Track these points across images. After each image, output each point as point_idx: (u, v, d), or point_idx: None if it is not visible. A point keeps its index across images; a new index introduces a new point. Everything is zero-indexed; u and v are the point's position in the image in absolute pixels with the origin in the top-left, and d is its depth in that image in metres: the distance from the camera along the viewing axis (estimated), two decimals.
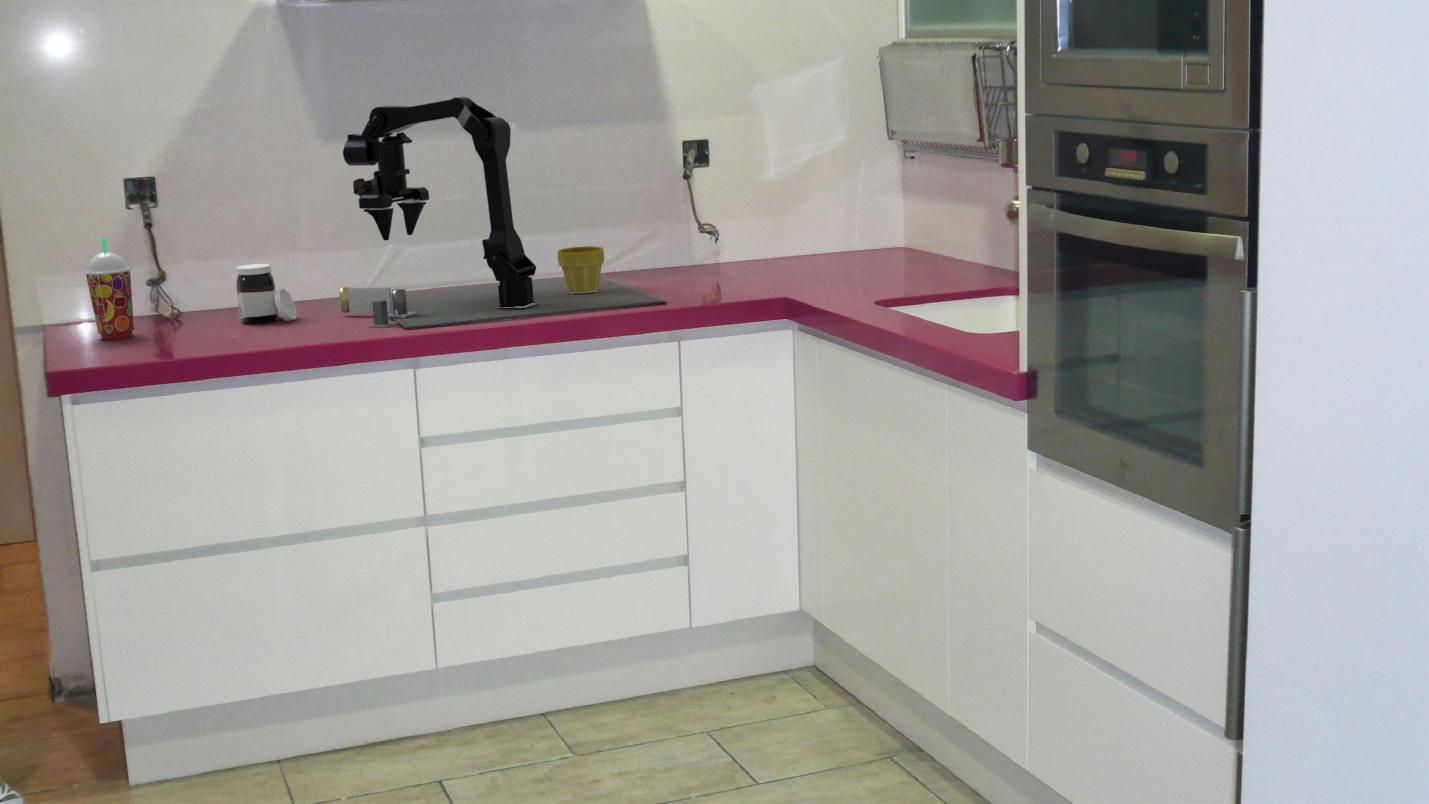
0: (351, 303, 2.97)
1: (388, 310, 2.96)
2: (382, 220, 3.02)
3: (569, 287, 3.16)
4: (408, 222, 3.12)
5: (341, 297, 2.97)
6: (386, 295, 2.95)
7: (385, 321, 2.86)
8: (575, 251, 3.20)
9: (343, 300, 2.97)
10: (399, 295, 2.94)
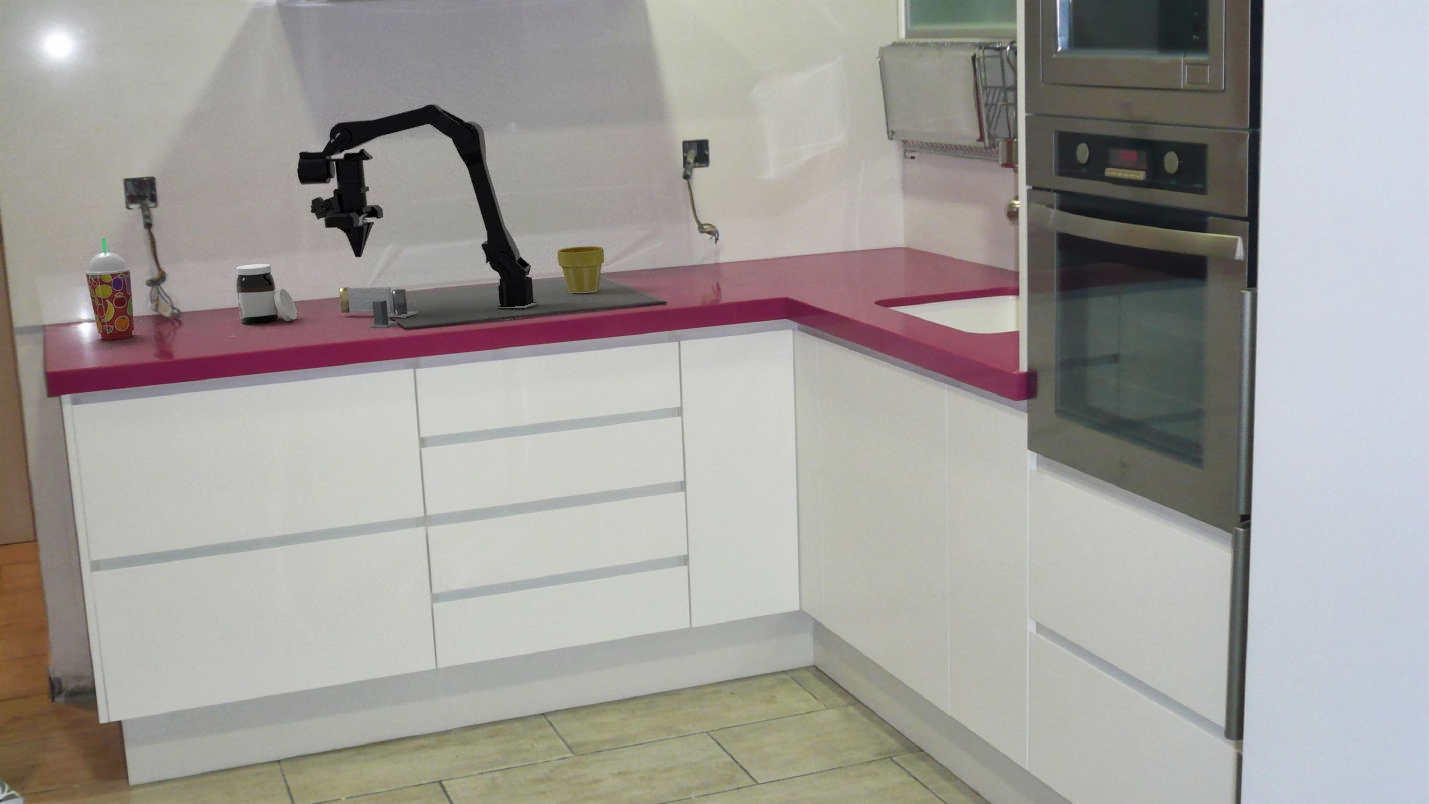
0: (351, 303, 2.97)
1: (388, 310, 2.96)
2: (355, 237, 2.97)
3: (569, 287, 3.16)
4: None
5: (341, 297, 2.97)
6: (386, 295, 2.95)
7: (385, 321, 2.86)
8: (575, 251, 3.20)
9: (343, 300, 2.97)
10: (399, 295, 2.94)
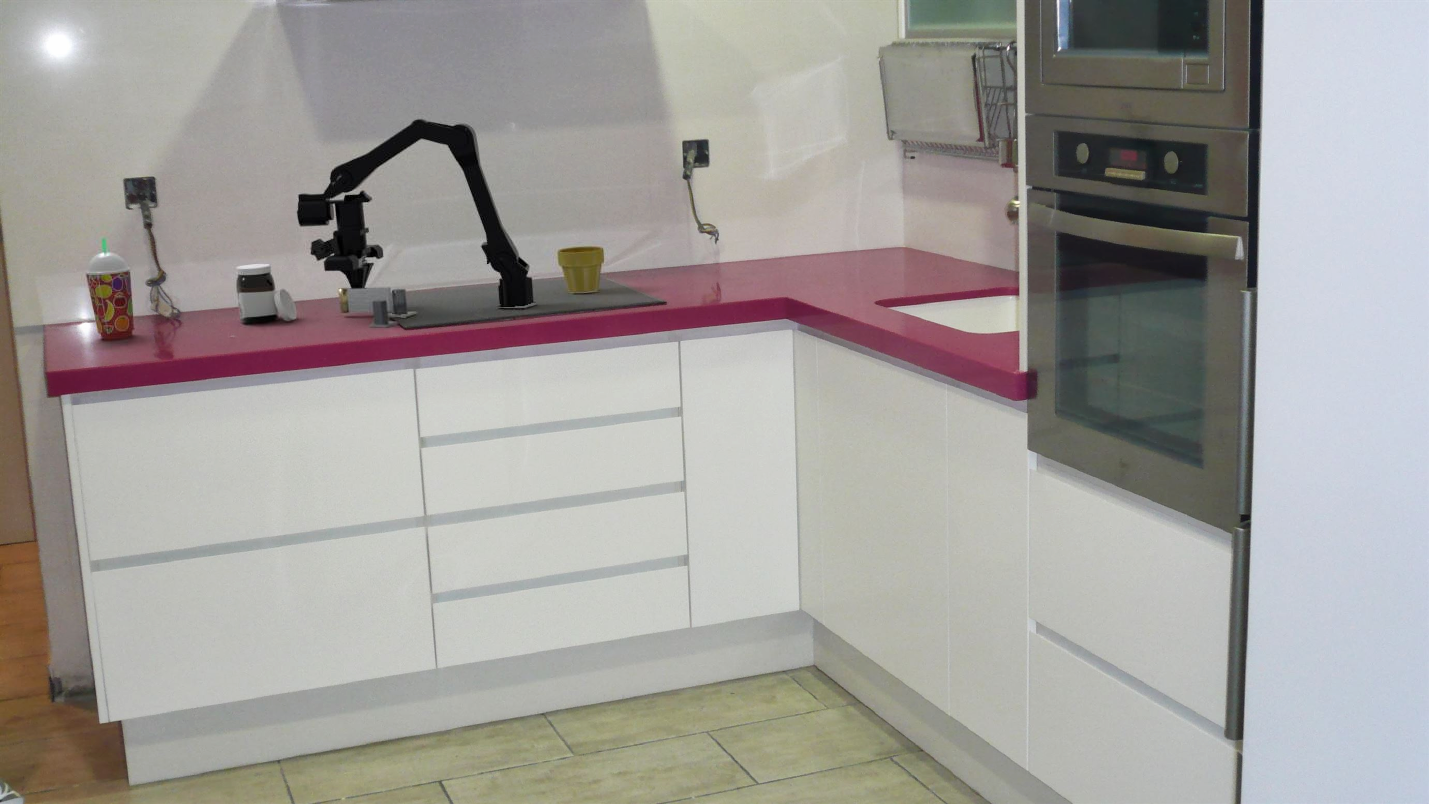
0: (351, 303, 2.97)
1: (388, 310, 2.96)
2: (355, 278, 2.97)
3: (569, 287, 3.16)
4: None
5: (340, 297, 2.96)
6: (386, 295, 2.95)
7: (385, 321, 2.86)
8: (575, 251, 3.20)
9: (343, 300, 2.96)
10: (399, 295, 2.94)
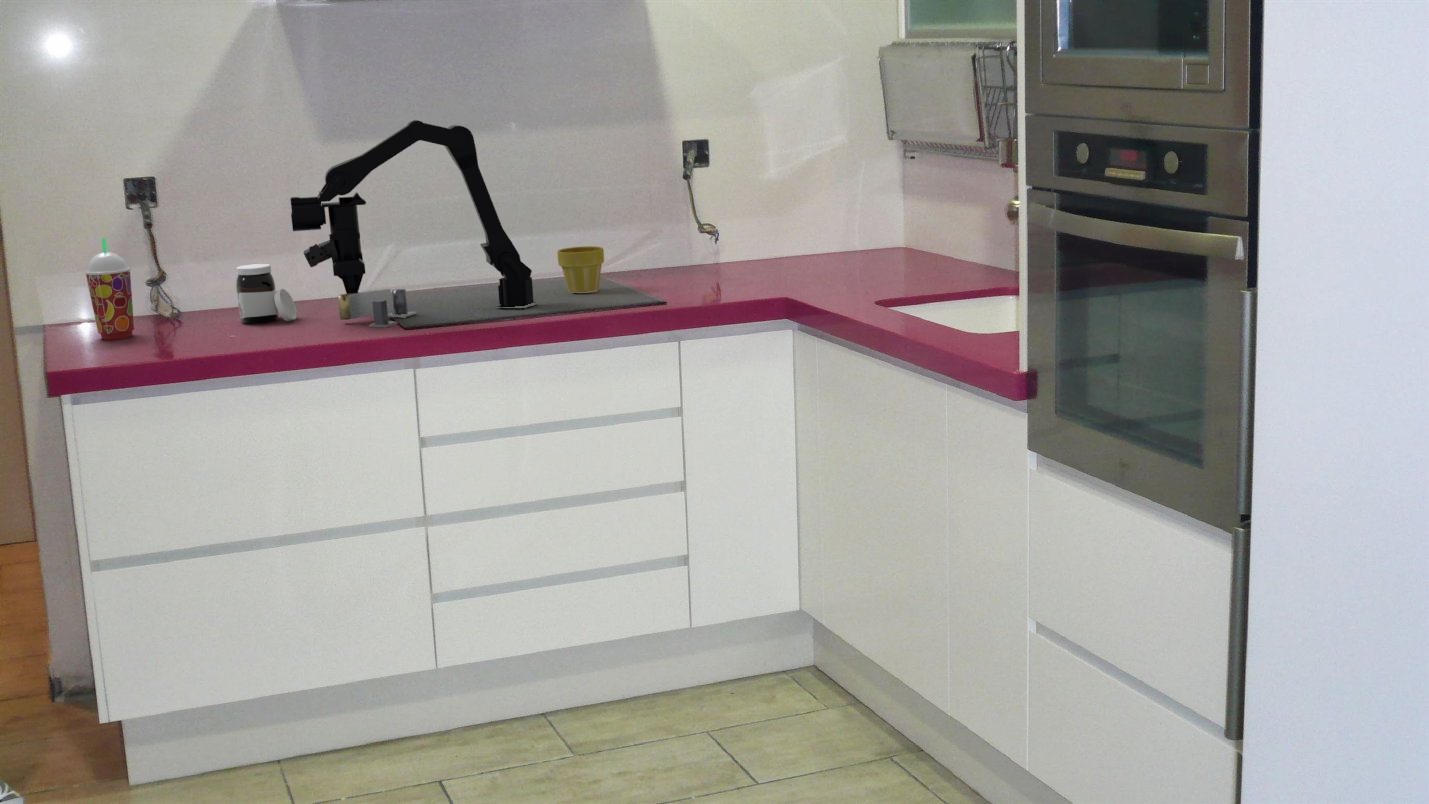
0: (353, 309, 2.89)
1: (390, 311, 2.94)
2: (352, 282, 2.90)
3: (569, 287, 3.16)
4: None
5: (344, 304, 2.88)
6: (388, 296, 2.94)
7: (385, 321, 2.86)
8: (575, 251, 3.20)
9: (346, 307, 2.88)
10: (399, 295, 2.94)
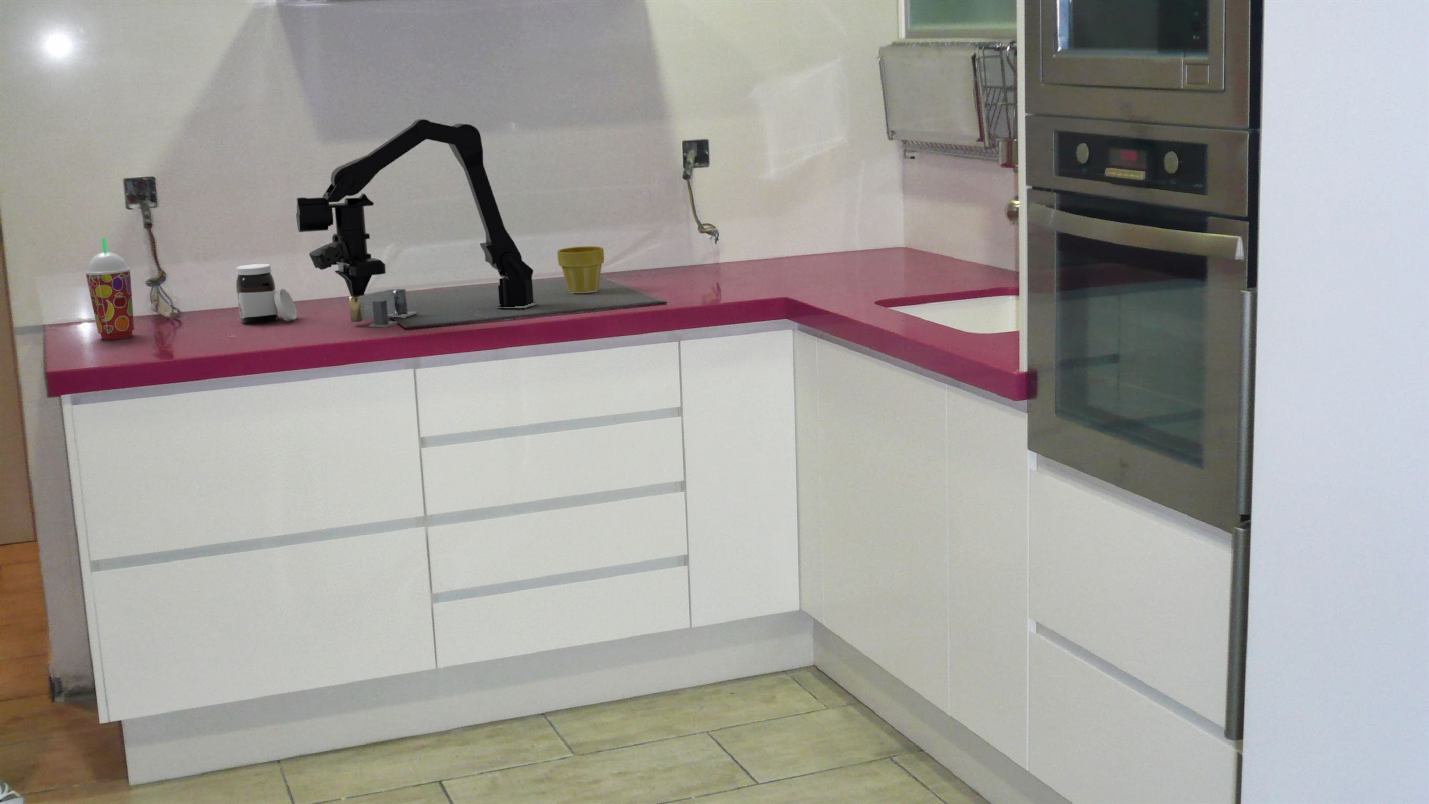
0: (363, 310, 2.87)
1: (393, 311, 2.94)
2: (359, 284, 2.87)
3: (569, 287, 3.16)
4: None
5: (356, 305, 2.85)
6: (392, 296, 2.93)
7: (385, 321, 2.86)
8: (575, 251, 3.20)
9: (358, 308, 2.85)
10: (399, 295, 2.94)
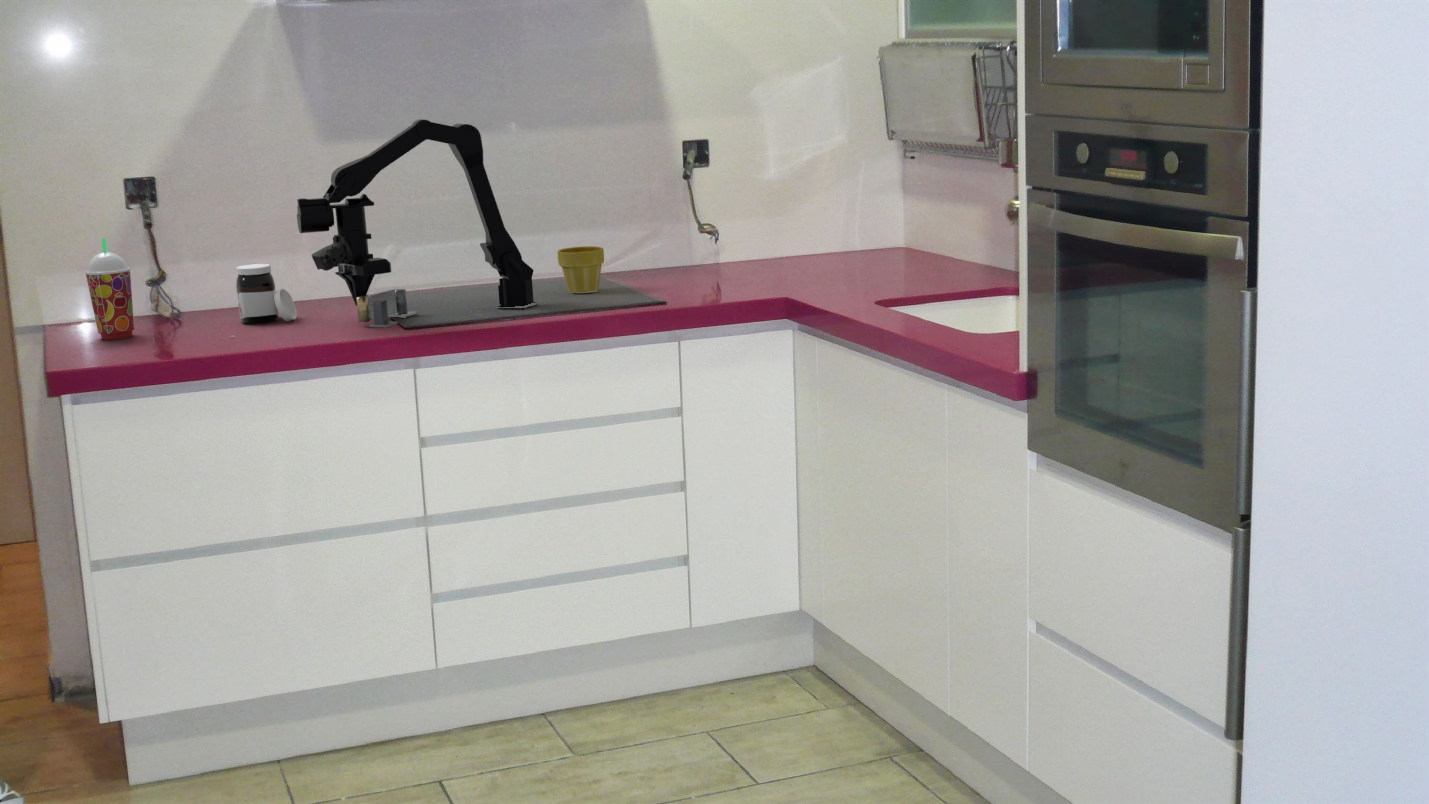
0: (370, 311, 2.86)
1: (395, 311, 2.94)
2: (362, 284, 2.87)
3: (569, 287, 3.16)
4: None
5: (365, 306, 2.84)
6: (393, 296, 2.93)
7: (385, 321, 2.86)
8: (575, 251, 3.20)
9: (367, 309, 2.85)
10: (399, 295, 2.94)
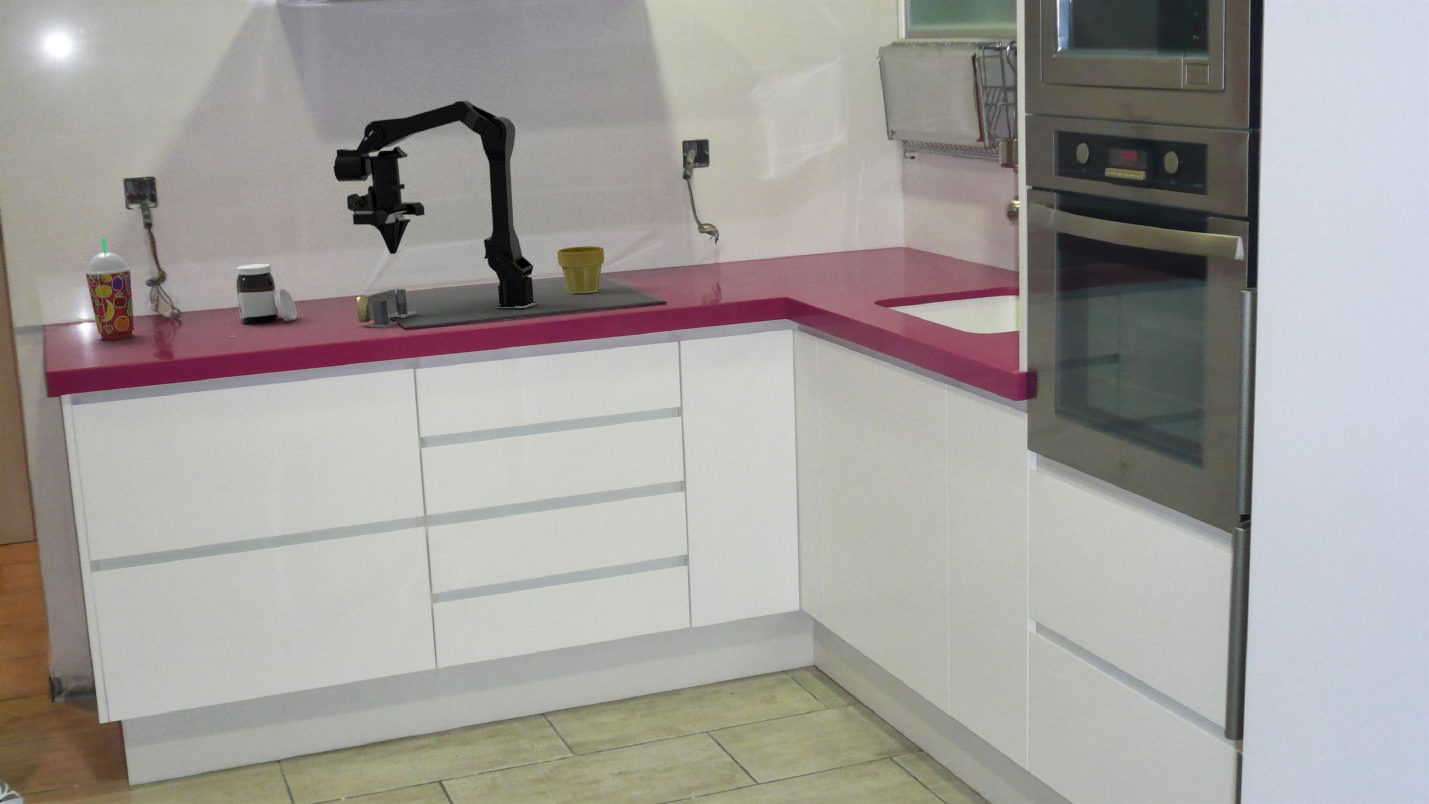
0: (370, 311, 2.86)
1: (395, 311, 2.94)
2: (388, 233, 3.00)
3: (569, 287, 3.16)
4: None
5: (365, 306, 2.84)
6: (393, 296, 2.93)
7: (385, 321, 2.86)
8: (575, 251, 3.20)
9: (367, 309, 2.85)
10: (399, 295, 2.94)
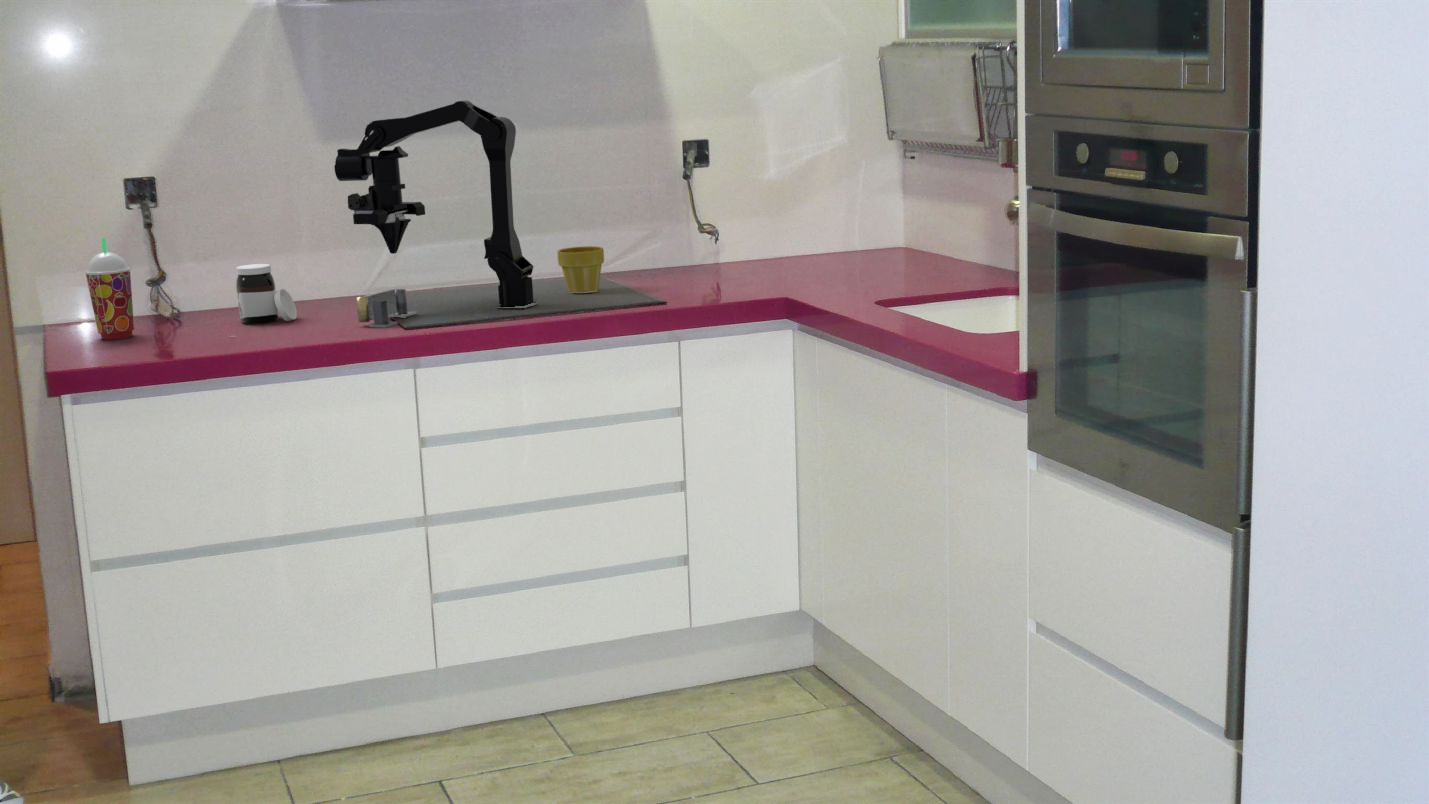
0: (370, 311, 2.86)
1: (395, 311, 2.94)
2: (389, 233, 3.01)
3: (569, 287, 3.16)
4: None
5: (365, 306, 2.84)
6: (393, 296, 2.93)
7: (385, 321, 2.86)
8: (575, 251, 3.20)
9: (367, 309, 2.85)
10: (399, 295, 2.94)
